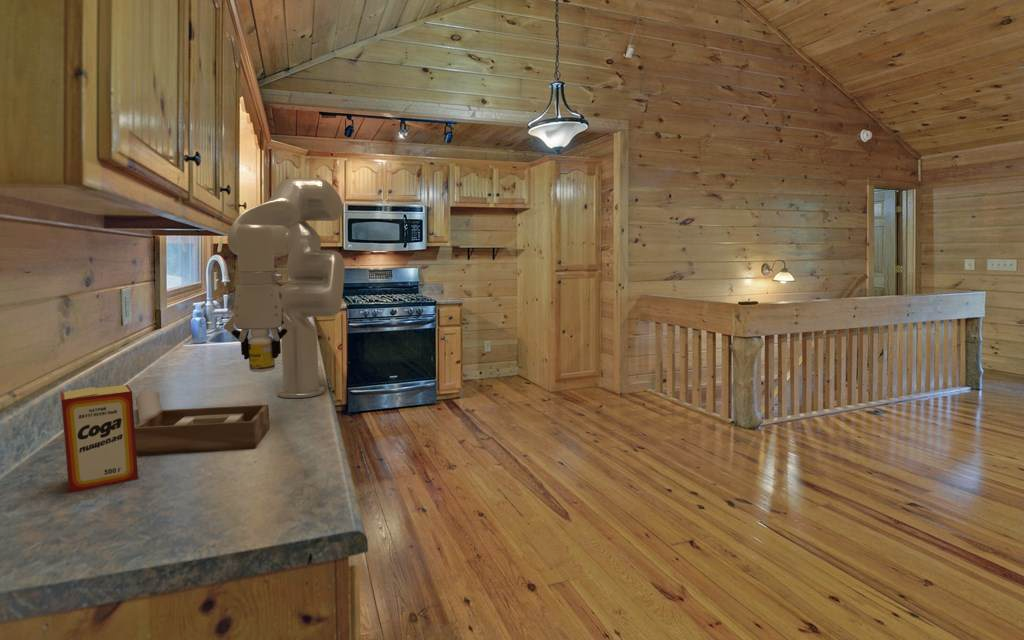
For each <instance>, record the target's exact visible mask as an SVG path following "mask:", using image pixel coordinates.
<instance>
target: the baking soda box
mask: <svg viewBox="0 0 1024 640" xmlns="http://www.w3.org/2000/svg"><path fill="white" fill-rule="evenodd" d="M133 402H134V401H133V391H132V389H131V388H130V386H129V385H128V384H121V385H113V386H112V385H111V386H102V387H96V386H92V387H86V388H80V389H75V390H68V391H62V392H60V404H61V413H62V416H61V417H62V425H63V426H62V427H63V438H64V451H65V461H66V472H67V484H68V490H69V494H71V493H76V492H81V491H86V490H90V489H91V490H92V489H95V488H101V487H104V486H105V487H106V486H111V485H115V484H120V483H124V482H129V481H134V480H138V479H139V472H138V470H139V469H138V456H137V454H136V440H135V426H136V425H135V416H134V415H135V414H134V403H133Z"/></svg>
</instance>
